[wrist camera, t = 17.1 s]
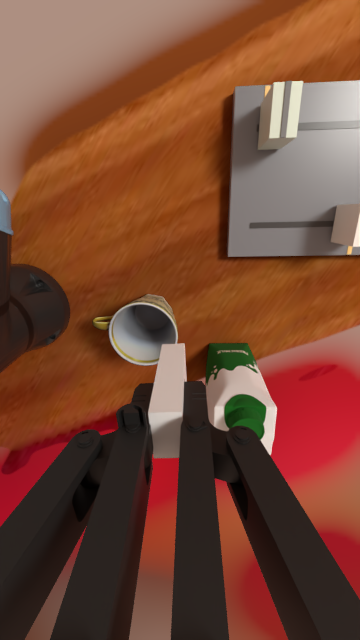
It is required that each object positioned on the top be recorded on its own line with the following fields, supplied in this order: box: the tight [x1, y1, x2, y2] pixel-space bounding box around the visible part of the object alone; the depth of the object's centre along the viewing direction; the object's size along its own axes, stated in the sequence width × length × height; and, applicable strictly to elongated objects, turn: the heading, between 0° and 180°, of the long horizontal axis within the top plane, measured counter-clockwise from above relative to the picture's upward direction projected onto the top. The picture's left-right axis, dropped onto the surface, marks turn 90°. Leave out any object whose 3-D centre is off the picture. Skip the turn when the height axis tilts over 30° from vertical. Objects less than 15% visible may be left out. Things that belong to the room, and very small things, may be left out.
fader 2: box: [331, 204, 360, 247], centre depth 36 cm, size 3×5×6 cm, turn 1°
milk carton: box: [206, 343, 277, 455], centre depth 41 cm, size 9×9×20 cm
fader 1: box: [258, 81, 303, 150], centre depth 32 cm, size 3×5×6 cm, turn 1°
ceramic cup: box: [92, 294, 178, 366], centre depth 43 cm, size 13×10×10 cm
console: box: [227, 80, 360, 257], centre depth 38 cm, size 22×21×2 cm
